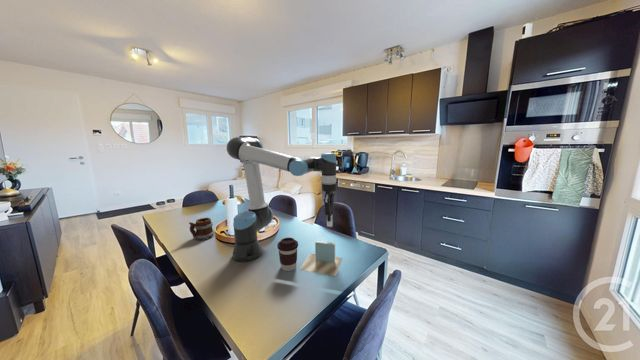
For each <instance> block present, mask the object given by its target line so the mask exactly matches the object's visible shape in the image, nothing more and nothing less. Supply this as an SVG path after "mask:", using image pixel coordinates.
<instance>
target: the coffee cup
mask: <svg viewBox="0 0 640 360" xmlns="http://www.w3.org/2000/svg"><path fill="white" fill-rule="evenodd" d="M298 247H299V241H298V240H295V238H293V237H284V238H281V240H280V241H279V242H277V250H278V255H279V263H280V268H281V270H283V271H286V272H290V271H291V272H292V271H293V270H295V269H296V268H297V261H298Z"/></svg>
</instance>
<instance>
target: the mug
mask: <svg viewBox="0 0 640 360" xmlns="http://www.w3.org/2000/svg"><path fill="white" fill-rule="evenodd" d="M188 224H189V232H190V233H191V235H192V238H195V239H196V240H197V239H198V240H197V241H204V240H203V239H205V240H208V239H207V238H209V239H211V238H213V237H214V236H213V235H215V230H214V229H213V222H212V219H211V217H201V218H198V219H196V220H195V223H194V222H191V221H189V222H188ZM212 236H213V237H212ZM210 237H211V238H210Z"/></svg>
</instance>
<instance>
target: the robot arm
mask: <svg viewBox="0 0 640 360" xmlns="http://www.w3.org/2000/svg"><path fill="white" fill-rule="evenodd" d="M226 152H227V154H228V155H229V156H230V158H232V159H234V160H238V161H240V163H241V164H242V166H243V168H244V170H243V171H244V176H245V181H246V188H247V193H248V199H249V206H248V208H247V210H248V211H243V212H240V213H239V212H238V213H237V214H236V215H234V218H233V222H232V224H233V225H232V226H233V233H234V234H233V235H234V247H233V251H232V259H233V260H234V261H236V262H241V263H243V262H246V263H247V262H250V261H254V260H256V259H258V258H259V257H260V256H261V255H262V248H261V246H260V245H261V244H260V242H259V240H258V232H259V231H261V230H262V229H264V228H265V227H267V226H268V225H270V224H271V223H272V221H273V219H274V213H273V212H274V211H273V210H272V209H271V208H270V207H269V205H268V203H267V202H266V201H265V194H264V188H263V182H262V181H263V180H262V175H261V174H262V173H261V168H260V165H265V166H267V167H270V168H274V169H279V170H282V171H285V172H289V173H291V175H292V176H295V177H301V176H303V175H305V174H309V173H310V172H321V183H322V184H321V190H322V191H323V192H325V194H324V198H323V202H324V212H325V214H324V215H325V216H326V227H329V228H332V227H333V214H335V212H334V204H335V203H334V202H335V193H334V192H336V191H337V183H336V182H337V179H338V176H337V154H335V152H323V153H321V156H301V157H300V158H299V157H296V156H292V155H288V154H285V153H280V152H277V151H273V150H270V149H266V148H264V147H263V144H262V142H261V141H260V139H257V138H256V137H251V136H249V137H248V136H247V137H246V136H245V137H241V136H240V137H239V136H237V137H233V138H230V140H229V141H228V142H227V144H226Z"/></svg>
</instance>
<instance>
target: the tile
mask: <svg viewBox="0 0 640 360" xmlns="http://www.w3.org/2000/svg"><path fill="white" fill-rule="evenodd" d="M314 247H315V249H314V250H315V253H314V254H315V256H316V260H317V261H323V262H329V263H335V257H336V242H329V241H321V240H316V241H315V245H314Z"/></svg>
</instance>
